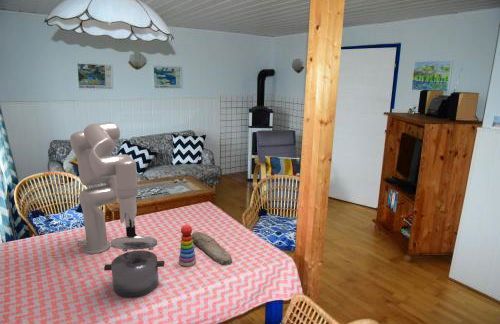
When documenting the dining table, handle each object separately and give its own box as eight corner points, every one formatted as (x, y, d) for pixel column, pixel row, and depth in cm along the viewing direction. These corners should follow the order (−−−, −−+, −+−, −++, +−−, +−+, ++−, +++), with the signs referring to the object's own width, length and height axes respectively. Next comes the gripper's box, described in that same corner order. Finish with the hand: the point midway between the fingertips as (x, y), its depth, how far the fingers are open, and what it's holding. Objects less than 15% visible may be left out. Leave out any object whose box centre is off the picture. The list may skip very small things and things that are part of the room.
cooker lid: (106, 241, 136) (107, 232, 137) (116, 250, 152) (116, 242, 154) (154, 239, 139) (154, 230, 140) (159, 248, 155) (159, 240, 156)
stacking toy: (199, 262, 165) (198, 226, 161) (185, 269, 160) (183, 231, 155) (189, 256, 171) (188, 220, 166) (175, 262, 165) (174, 225, 161)
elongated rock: (219, 271, 162) (237, 265, 167) (220, 261, 160) (238, 256, 166) (185, 238, 188) (202, 234, 194) (186, 229, 187) (202, 225, 193)
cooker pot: (101, 300, 137) (98, 273, 134) (112, 273, 156) (110, 248, 153) (163, 295, 141) (162, 269, 138) (166, 269, 160) (165, 245, 157)
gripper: (121, 185, 141) (124, 227, 145) (113, 198, 126) (117, 245, 131) (140, 184, 142) (143, 226, 146) (134, 197, 127) (138, 243, 132)
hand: (131, 235), depth 139 cm, fingers closed
